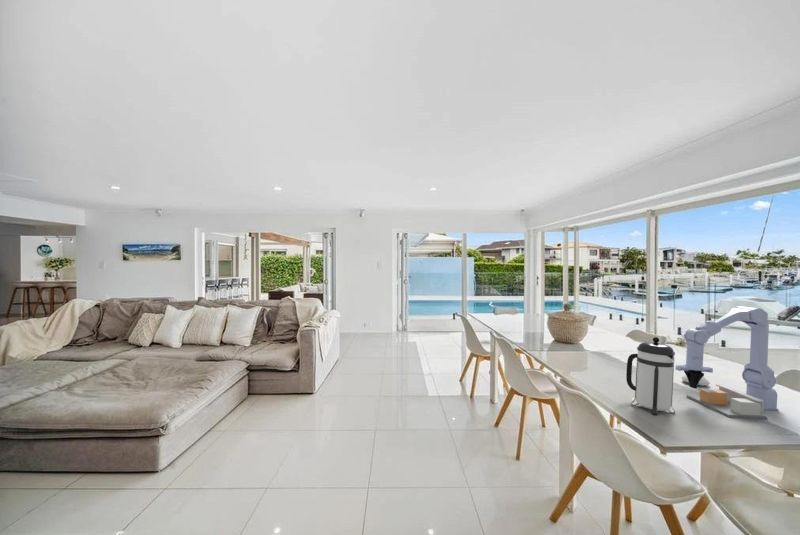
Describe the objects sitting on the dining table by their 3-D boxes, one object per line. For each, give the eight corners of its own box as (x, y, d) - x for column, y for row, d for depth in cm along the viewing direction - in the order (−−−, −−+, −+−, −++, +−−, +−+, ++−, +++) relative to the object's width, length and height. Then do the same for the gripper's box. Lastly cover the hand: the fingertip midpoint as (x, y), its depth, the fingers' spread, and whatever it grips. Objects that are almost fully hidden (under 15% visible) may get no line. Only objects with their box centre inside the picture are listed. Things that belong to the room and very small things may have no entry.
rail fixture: (720, 399, 165) (720, 383, 165) (767, 419, 143) (768, 402, 143) (686, 397, 166) (687, 382, 166) (728, 417, 144) (729, 399, 144)
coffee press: (673, 407, 151) (677, 337, 151) (676, 420, 138) (680, 342, 138) (625, 397, 161) (628, 331, 161) (623, 408, 148) (627, 336, 148)
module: (718, 400, 160) (718, 389, 159) (726, 404, 155) (727, 392, 155) (699, 399, 160) (700, 388, 160) (707, 403, 155) (708, 391, 155)
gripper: (704, 355, 161) (702, 385, 161) (671, 353, 162) (669, 383, 162) (717, 359, 154) (715, 391, 154) (683, 357, 155) (681, 388, 155)
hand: (693, 387), depth 158 cm, fingers closed
